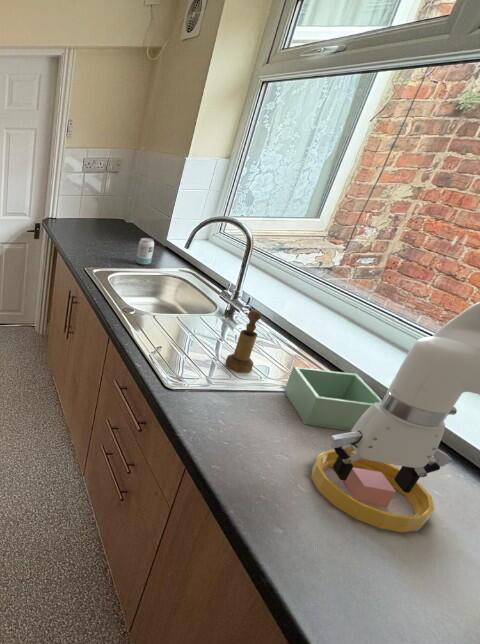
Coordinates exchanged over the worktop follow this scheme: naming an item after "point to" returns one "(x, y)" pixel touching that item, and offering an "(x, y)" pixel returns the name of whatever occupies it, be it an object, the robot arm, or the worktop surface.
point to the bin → (329, 397)
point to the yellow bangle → (364, 512)
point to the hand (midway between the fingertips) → (369, 480)
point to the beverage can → (145, 251)
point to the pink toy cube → (370, 486)
